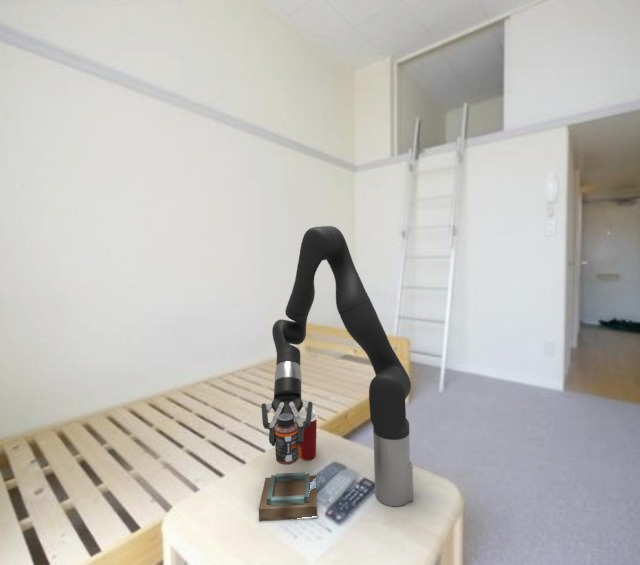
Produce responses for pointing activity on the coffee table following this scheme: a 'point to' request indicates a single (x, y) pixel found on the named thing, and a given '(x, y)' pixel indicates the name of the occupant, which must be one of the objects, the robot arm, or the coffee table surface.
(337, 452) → the coffee table surface
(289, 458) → the supplement bottle
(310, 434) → the paper cup
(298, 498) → the walnut foundation
